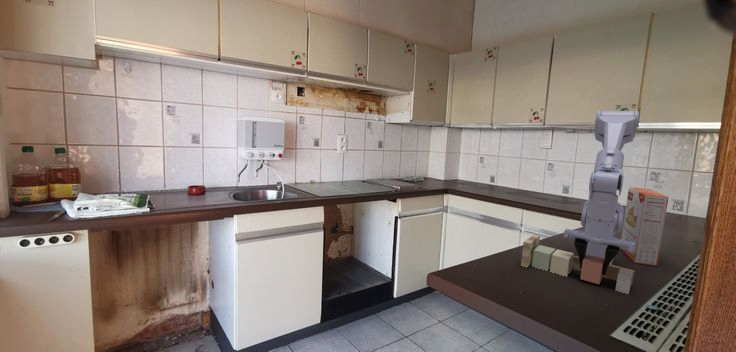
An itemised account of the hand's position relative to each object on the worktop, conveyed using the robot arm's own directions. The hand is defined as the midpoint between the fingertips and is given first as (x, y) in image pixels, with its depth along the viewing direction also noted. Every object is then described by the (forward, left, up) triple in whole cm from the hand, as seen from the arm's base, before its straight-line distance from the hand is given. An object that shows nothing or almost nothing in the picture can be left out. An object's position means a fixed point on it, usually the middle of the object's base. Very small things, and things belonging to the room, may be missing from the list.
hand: (592, 270), depth 85 cm
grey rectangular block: (0, +6, -3) cm, 7 cm away
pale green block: (0, -12, -3) cm, 12 cm away
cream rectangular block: (0, -7, -3) cm, 7 cm away
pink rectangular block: (0, 0, -2) cm, 2 cm away
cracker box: (-31, +7, -3) cm, 32 cm away
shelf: (0, -4, -3) cm, 5 cm away
